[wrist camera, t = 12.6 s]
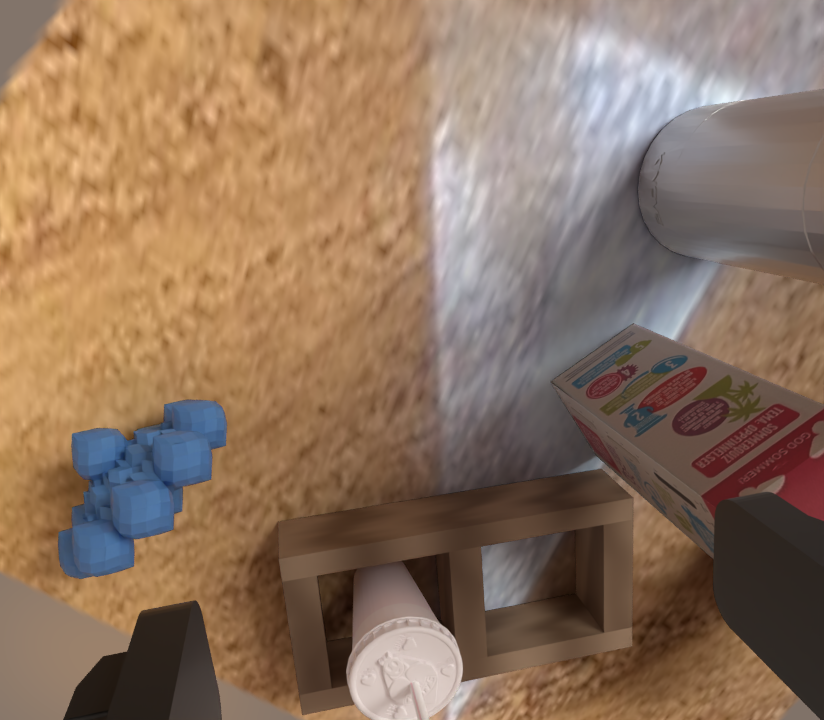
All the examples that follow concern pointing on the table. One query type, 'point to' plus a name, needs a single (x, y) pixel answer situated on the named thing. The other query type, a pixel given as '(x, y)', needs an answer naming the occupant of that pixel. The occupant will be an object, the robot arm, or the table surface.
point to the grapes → (136, 484)
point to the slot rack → (469, 575)
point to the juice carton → (694, 429)
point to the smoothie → (399, 648)
